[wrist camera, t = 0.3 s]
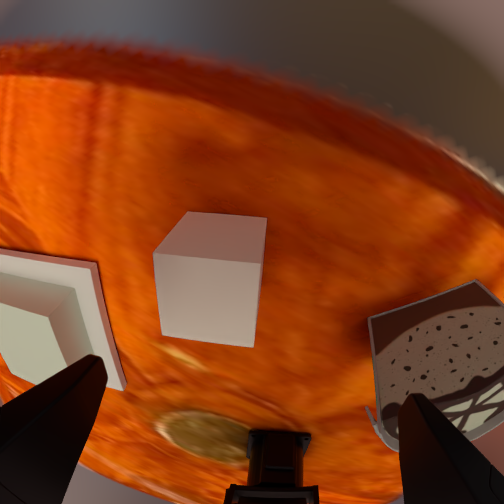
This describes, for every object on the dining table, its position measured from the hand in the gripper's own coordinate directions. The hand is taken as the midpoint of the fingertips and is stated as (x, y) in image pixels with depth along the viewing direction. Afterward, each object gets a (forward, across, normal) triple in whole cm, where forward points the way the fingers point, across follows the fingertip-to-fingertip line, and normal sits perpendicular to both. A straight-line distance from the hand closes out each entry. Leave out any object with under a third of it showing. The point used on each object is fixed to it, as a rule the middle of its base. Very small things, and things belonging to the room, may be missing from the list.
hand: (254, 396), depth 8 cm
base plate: (+13, +20, +11) cm, 26 cm away
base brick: (+12, +20, +11) cm, 26 cm away
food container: (+13, -13, +6) cm, 20 cm away
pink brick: (+13, +3, +2) cm, 13 cm away
